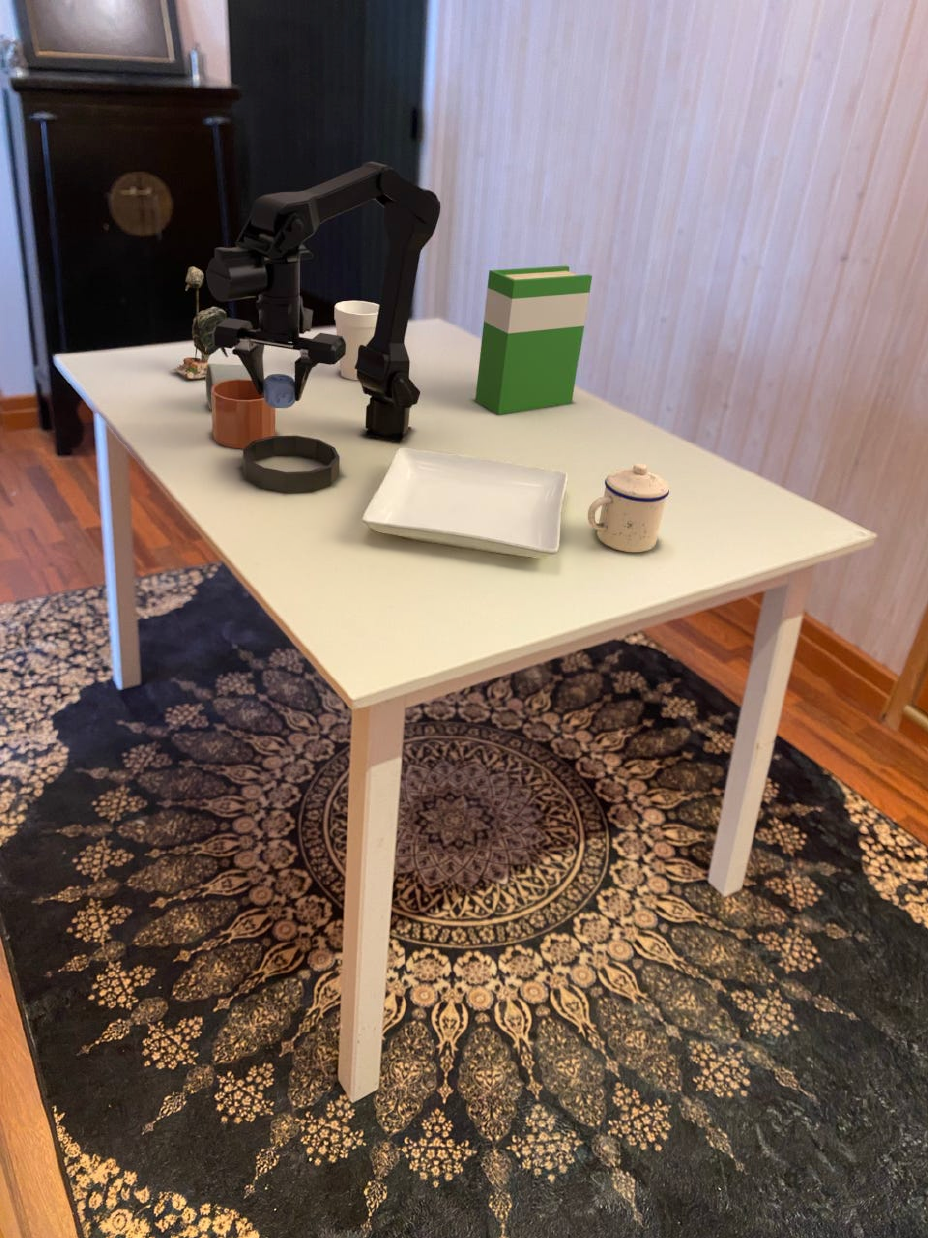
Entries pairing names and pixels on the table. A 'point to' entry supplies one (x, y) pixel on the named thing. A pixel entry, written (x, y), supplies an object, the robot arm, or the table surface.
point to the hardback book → (531, 338)
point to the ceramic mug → (223, 376)
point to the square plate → (470, 503)
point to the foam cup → (354, 331)
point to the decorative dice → (279, 391)
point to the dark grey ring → (290, 480)
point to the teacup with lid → (630, 509)
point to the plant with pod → (201, 331)
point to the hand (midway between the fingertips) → (279, 397)
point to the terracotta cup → (240, 414)
